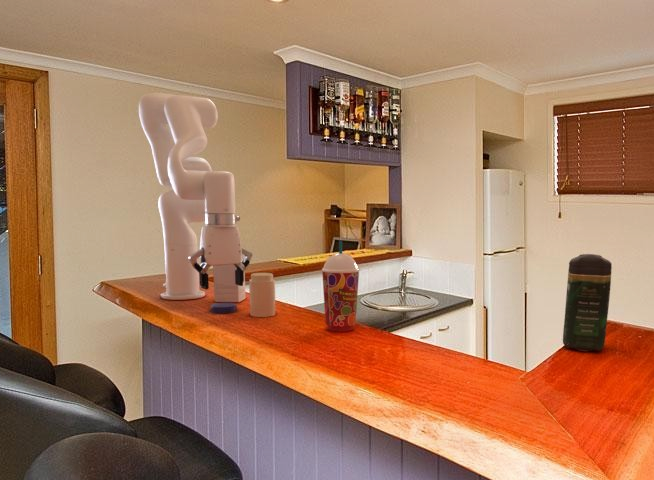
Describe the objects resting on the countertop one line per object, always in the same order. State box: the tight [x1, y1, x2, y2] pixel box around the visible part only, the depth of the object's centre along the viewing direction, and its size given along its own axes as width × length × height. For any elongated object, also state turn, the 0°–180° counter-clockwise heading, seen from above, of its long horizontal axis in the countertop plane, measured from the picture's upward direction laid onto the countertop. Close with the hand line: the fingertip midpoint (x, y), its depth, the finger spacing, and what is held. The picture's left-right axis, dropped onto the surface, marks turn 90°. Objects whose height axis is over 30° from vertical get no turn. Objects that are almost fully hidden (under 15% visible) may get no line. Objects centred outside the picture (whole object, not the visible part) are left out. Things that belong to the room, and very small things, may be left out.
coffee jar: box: [562, 253, 613, 352], centre depth 111 cm, size 10×8×19 cm
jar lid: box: [210, 302, 238, 314], centre depth 146 cm, size 7×7×2 cm
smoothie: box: [321, 240, 360, 333], centre depth 125 cm, size 8×8×20 cm
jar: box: [248, 272, 277, 318], centre depth 141 cm, size 6×6×10 cm
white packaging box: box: [212, 255, 247, 303], centre depth 161 cm, size 7×7×13 cm
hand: (222, 286), depth 146 cm, fingers open, 9 cm apart
